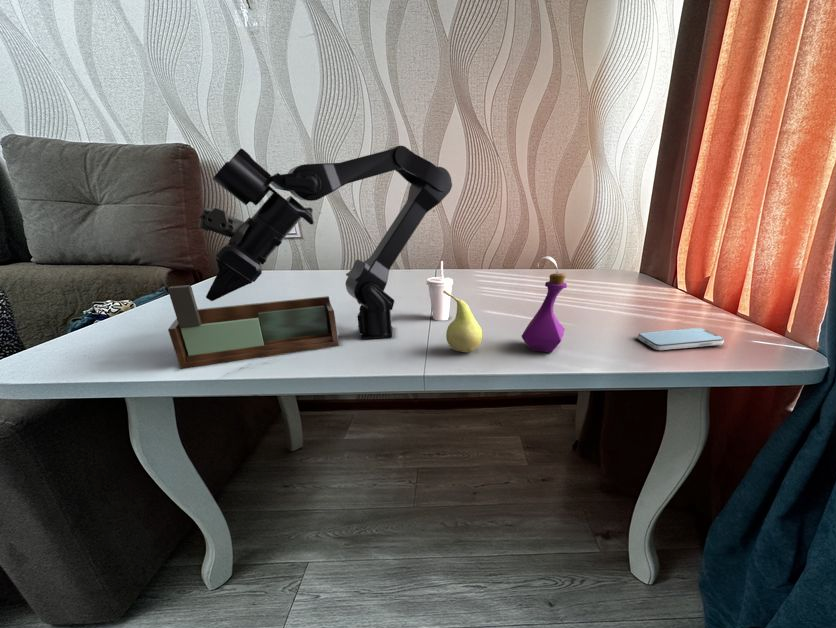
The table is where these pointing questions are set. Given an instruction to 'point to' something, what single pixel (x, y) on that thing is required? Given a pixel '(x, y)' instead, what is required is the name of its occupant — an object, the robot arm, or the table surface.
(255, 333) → the green grey l-shaped block
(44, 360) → the table surface
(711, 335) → the smartphone
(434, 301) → the smoothie
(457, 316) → the fruit
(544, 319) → the perfume bottle
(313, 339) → the brown wooden box
